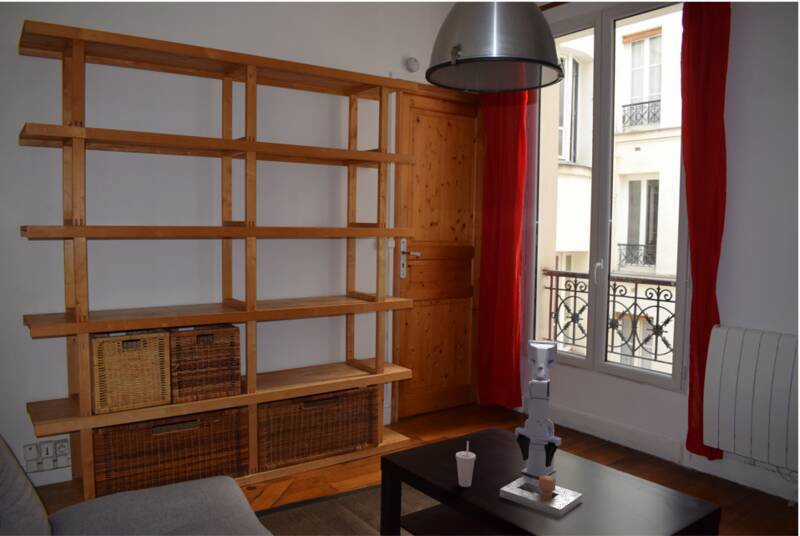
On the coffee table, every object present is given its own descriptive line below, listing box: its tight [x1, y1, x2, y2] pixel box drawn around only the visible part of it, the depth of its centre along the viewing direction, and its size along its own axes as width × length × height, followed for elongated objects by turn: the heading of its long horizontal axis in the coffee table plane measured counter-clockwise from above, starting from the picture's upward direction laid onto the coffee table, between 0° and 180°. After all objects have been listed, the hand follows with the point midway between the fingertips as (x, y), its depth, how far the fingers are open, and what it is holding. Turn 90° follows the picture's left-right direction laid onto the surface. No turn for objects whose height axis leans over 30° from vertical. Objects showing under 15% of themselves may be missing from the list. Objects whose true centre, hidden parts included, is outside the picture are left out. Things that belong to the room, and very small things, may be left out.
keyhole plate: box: [499, 475, 583, 518], centre depth 193 cm, size 14×20×2 cm
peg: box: [538, 475, 557, 498], centre depth 191 cm, size 5×5×7 cm
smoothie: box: [455, 440, 477, 488], centre depth 202 cm, size 6×6×14 cm
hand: (536, 462), depth 195 cm, fingers open, 7 cm apart
